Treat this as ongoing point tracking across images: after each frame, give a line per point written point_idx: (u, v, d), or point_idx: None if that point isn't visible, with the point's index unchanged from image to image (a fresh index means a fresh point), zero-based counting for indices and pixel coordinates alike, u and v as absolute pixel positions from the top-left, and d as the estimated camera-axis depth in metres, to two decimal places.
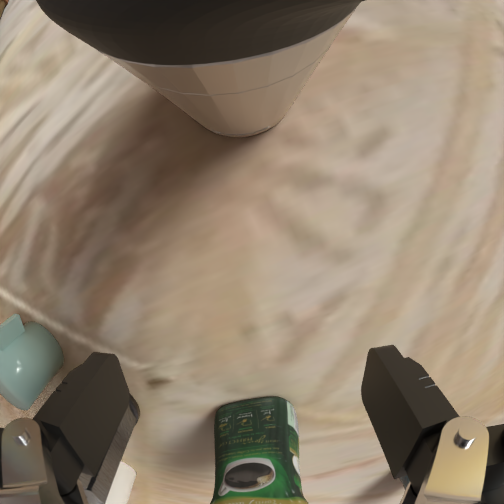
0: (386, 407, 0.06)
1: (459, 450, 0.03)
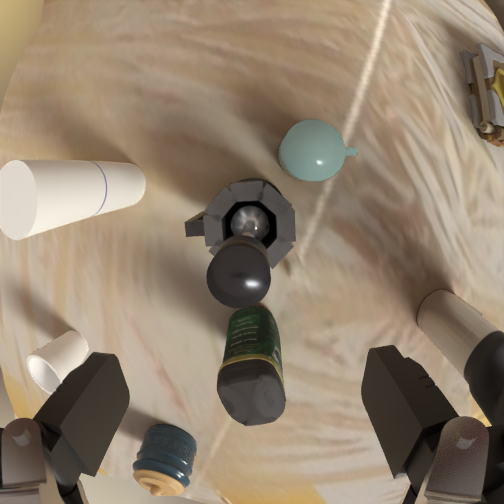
0: (386, 407, 0.06)
1: (459, 450, 0.03)
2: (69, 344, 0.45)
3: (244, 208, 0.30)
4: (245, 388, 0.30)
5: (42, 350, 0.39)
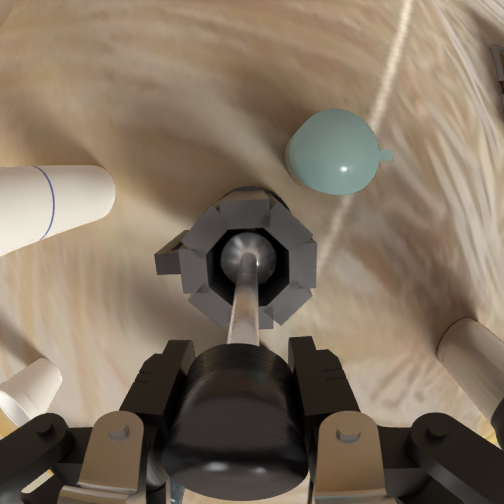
0: None
1: (334, 443, 0.04)
2: (39, 376, 0.35)
3: (240, 236, 0.20)
4: None
5: (9, 384, 0.28)
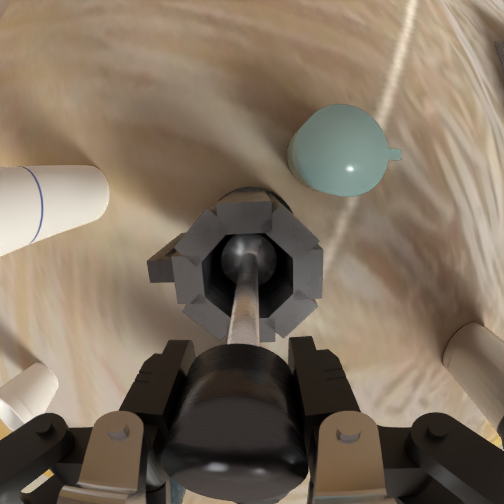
0: None
1: (334, 444, 0.04)
2: (35, 382, 0.33)
3: (241, 236, 0.20)
4: None
5: (4, 390, 0.27)
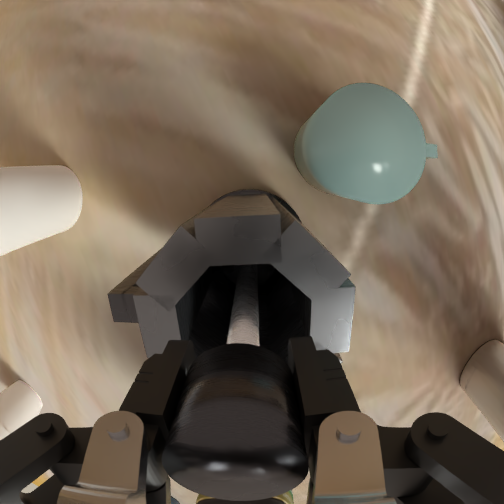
0: None
1: (334, 444, 0.04)
2: (16, 402, 0.27)
3: None
4: None
5: None
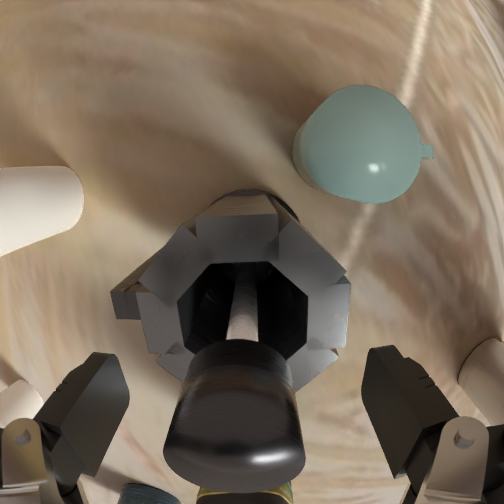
0: (386, 407, 0.06)
1: (459, 450, 0.03)
2: (17, 401, 0.27)
3: None
4: None
5: None
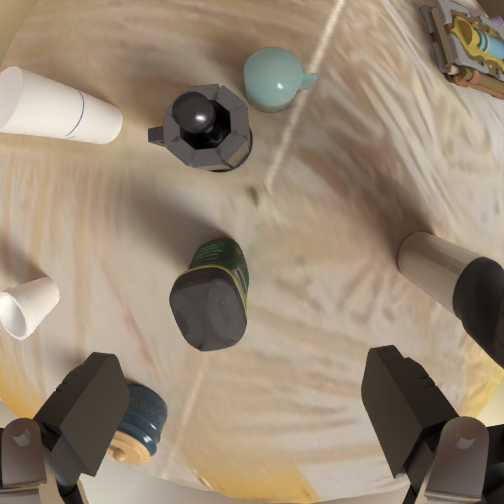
0: (385, 407, 0.06)
1: (459, 450, 0.03)
2: (39, 287, 0.43)
3: (212, 124, 0.36)
4: (198, 295, 0.29)
5: (12, 288, 0.37)
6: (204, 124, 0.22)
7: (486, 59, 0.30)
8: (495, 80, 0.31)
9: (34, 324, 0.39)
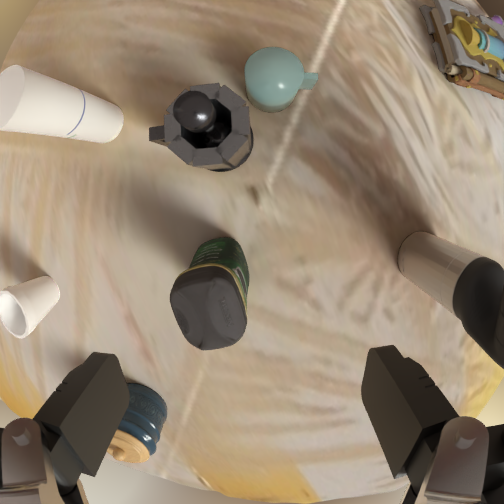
0: (386, 406, 0.06)
1: (459, 450, 0.03)
2: (40, 285, 0.43)
3: (213, 123, 0.37)
4: (198, 293, 0.29)
5: (12, 287, 0.37)
6: (205, 123, 0.22)
7: (486, 59, 0.30)
8: (495, 80, 0.31)
9: (34, 323, 0.39)
